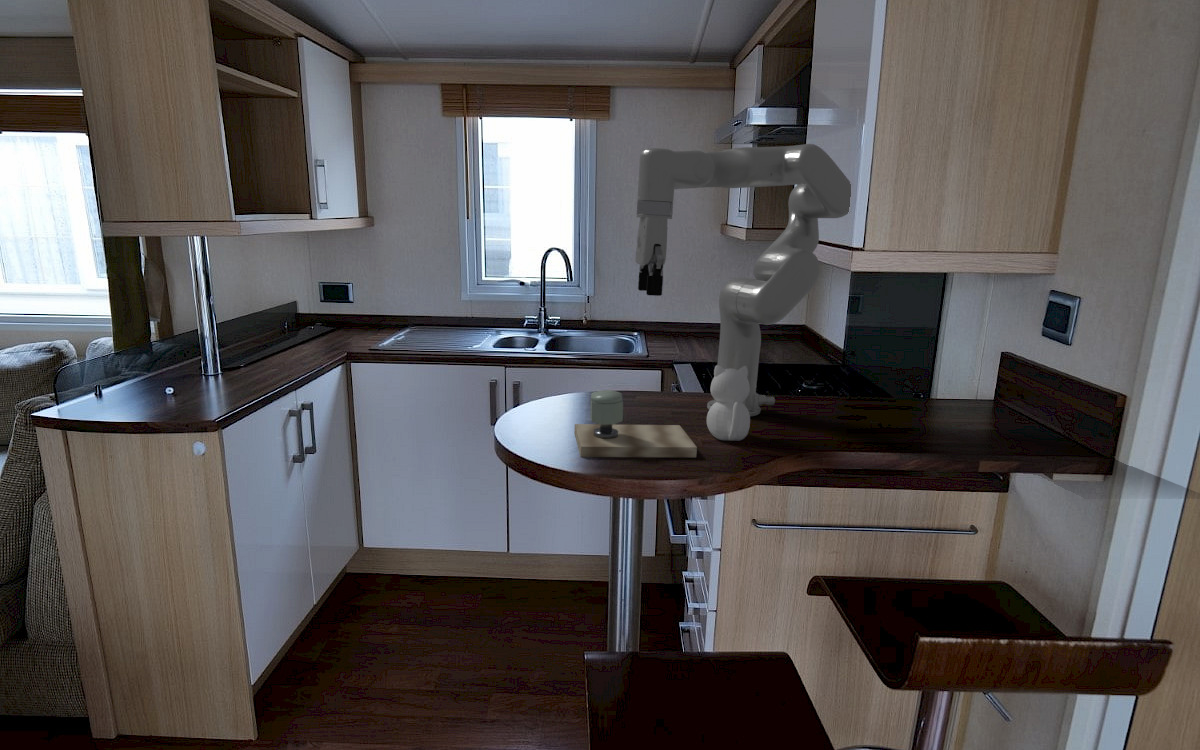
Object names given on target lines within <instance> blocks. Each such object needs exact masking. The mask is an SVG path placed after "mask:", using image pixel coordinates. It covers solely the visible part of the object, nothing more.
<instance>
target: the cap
mask: <svg viewBox="0 0 1200 750" xmlns="http://www.w3.org/2000/svg"><path fill="white" fill-rule="evenodd" d="M623 415H624V401H623V393H621V392H620V391H616V390H611V389H610V390H607V389H606V390H597V391H594V392H592V393H591V394H590V420H591V421H590V422H592V423H593V424H601V425H609V424H612V425H618V424H620V423H621V422H624V421H623V419H624V417H623Z"/></svg>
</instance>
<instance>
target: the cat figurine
mask: <svg viewBox="0 0 1200 750" xmlns="http://www.w3.org/2000/svg"><path fill="white" fill-rule="evenodd" d="M713 375H714V377H713V378H712V380H711V383H710V389H709V390H710V394H711V396H712V398H713V400H714V399H715V400H716V401H717V402H715V403H714V404H713V405H712V406H711V408H710V409H708V412H707V415H706V425H707V428H708V430H709V432H710V434H711V435H712V436H713V437H715V438H716V439H717V440H719V441H730V442H731V441H739V442H740V441H742V440H744V439H745V438H746V437H747V436H748V434H749V430H750V426H751V425H750V424H751V417H750V415H749V411H748V409H747V408H746V406H745V405H744V404H743V403H742V402H743V401H744V400H745V399H746V398H747V397H748V395H749V392H750V385H749V381H748V379H747V376H748V370H747V367H746V366H743V367H741V368H740V369H739V370H736V369H732V368H729V369H724V368H723V367H721V366H719V365H717V364H716V365H715V366H714V369H713Z"/></svg>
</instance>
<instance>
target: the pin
mask: <svg viewBox="0 0 1200 750" xmlns="http://www.w3.org/2000/svg"><path fill="white" fill-rule="evenodd" d="M612 425H613V424H609V425H601V424H600V428H596V429H594V434H593V435H594V436H595V437H598V438H602V439H613V438H616V437H618V431H617V430H616V429H613V428H612Z"/></svg>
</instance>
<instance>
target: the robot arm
mask: <svg viewBox="0 0 1200 750" xmlns="http://www.w3.org/2000/svg"><path fill="white" fill-rule="evenodd" d="M638 165H639V166H638V182H637V199H636V200H637V202H636V218H639V223H638V230H637V239H636V251H635V259H634V260H635V263H636V264H638V266H639V272H638V284H637V285H638V286H637V289H638V291H645V292H646V296H655V297H657V296H659V297H660V296H662V295H663V285H664V284H663V283H664V265H665V264H666V260H667V247H668V246H667V245H668V229H669V227H668V220H672V219H673V213H674V212H673V210H674V197H675V190H679V189H680V190H681V189H682V190H683V189H687V190H688V189H700V188H703V189H704V188H724V189H739V188H740V189H743V188H745V189H746V188H759V187H760V188H761V187H762V188H763V187H778V186H780V187H781V186H782V187H783V186H791V185H792V186H794V185H796V186H795V187H794V188H793V189H792V190H791V191H790V193H789V197H788V202H787V203H788V206H787V207H788V222H787V226H786V227H785V229H784V230H783V231H782V232H781V234H780V235H779V236H778V237H777V238H776V239H775V240H773V242H772V243H771V244H770V245H769V246H768V247H767V248H766V249H765V250H764V252H763V253H761V254H760V256H759V257H758V258H757V260H756V261H755V263H754V265H753V270H752V271H753V272H752V273H753V275H754V278H750V277H737V278H736V277H735V278H732V279H730V280H728V281H727V282H726V283H725V284H724V285H723V286H722V288H721V290H720V293H719V299H718V308H719V316H720V317H719V319H720V321H719V322H720V328H719V329H720V330H719V331H720V332H719V342H718V343H719V344H718V352H717V353H718V355H717V363H716V365H719V366H721V367H723V368H724V369H729V368H732V369H736V370H739V369H740V368H741V367H743V366H746V367H747V370H748V376H747V379H748V381H749V385H750V392H749V395H748V397H747V398H746V399H745V400H744V401H743V402H742V403H743V404H744V405H745V406H746V408H747V409H748V411H749V415H750V418H751V417H756V416H758V415H759V414H761V410H762V408H761V406H763V405H767V406H768V405H769V406H770V405H771V406H773V405H775V403H776V399H775V397H774V396H766V395H764V394H763V395H762V394H759V393H758V392H756V391H757V383H758V382H757V381H758V373H759V362H760V353H761V345H762V332H761V328H760V325H767V326H769V325H775V324H777V323H779V322H780V321H782V320H783V319H784V318H785V317H787V316H788V314H789V313H790V312H791V311H792V310H794V308H795V307H796V306H797V305H798V304H799V303H800V302H802V300H803V299H804V298H805V297H806V296H807V294H808V293H809V292H810V291H811V290H812V289H813V288H814V286H815V284H816V283H817V282H818V278H819V275H820V270H821V269H820V267H821V265H820V261H819V259H818V257H817V255H816V254H815V253H814V252H815V251H816V249H817V247H818V244H819V241H820V239H819V238H820V233H819V219H840V218H843V217H845V216H846V215H848V214H849V213H850V212H849V207H850V197H851V184H852V183H851V181H850V180H849V179H848V177H847V176H846V175H845V173H844V172H843V171H842V170H841V168H840V167H839V166H838V165H837V164H836V162H835V161H834V159H832V158H831V157H830V155H829V154H828V153H827V152H826V151H825V150H824V149H823V148H821V147H820V146H818V145H817V144H814V143H805V144H804V143H803V144H796V145H785V146H781V145H780V146H761V147H760V146H755V147H754V146H753V147H752V146H750V147H749V146H748V147H747V146H746V147H745V146H744V147H735V148H729V149H724V150H717V151H711V152H710V151H709V152H704V151H701V150H685V151H684V150H683V151H682V150H681V151H680V150H679V151H678V150H676V151H675V150H672V149H668V148H660V147H659V148H658V147H653V148H646V149H644V150H642V151H641V153H640V156H639V164H638ZM850 183H851V184H850ZM848 212H849V213H848ZM715 402H717V401H716V400H715V399H714V398H713V399H712V400H710V401H708V402H707V405H706V407H707V409H708V410H709V409H710V408H711V406H712V405H713V404H714V403H715Z"/></svg>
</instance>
